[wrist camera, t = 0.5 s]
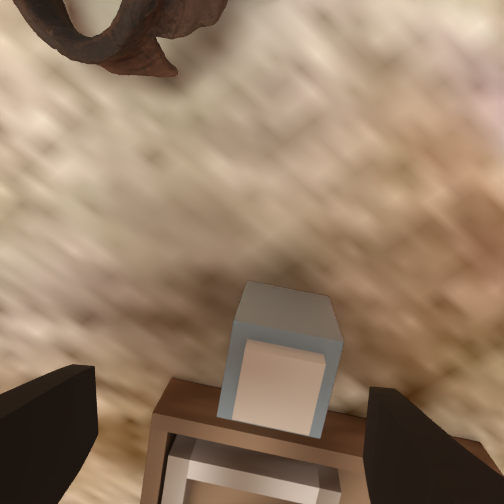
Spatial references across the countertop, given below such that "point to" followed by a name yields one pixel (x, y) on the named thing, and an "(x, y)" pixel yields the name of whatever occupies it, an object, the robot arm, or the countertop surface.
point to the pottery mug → (123, 32)
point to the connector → (281, 360)
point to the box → (252, 456)
